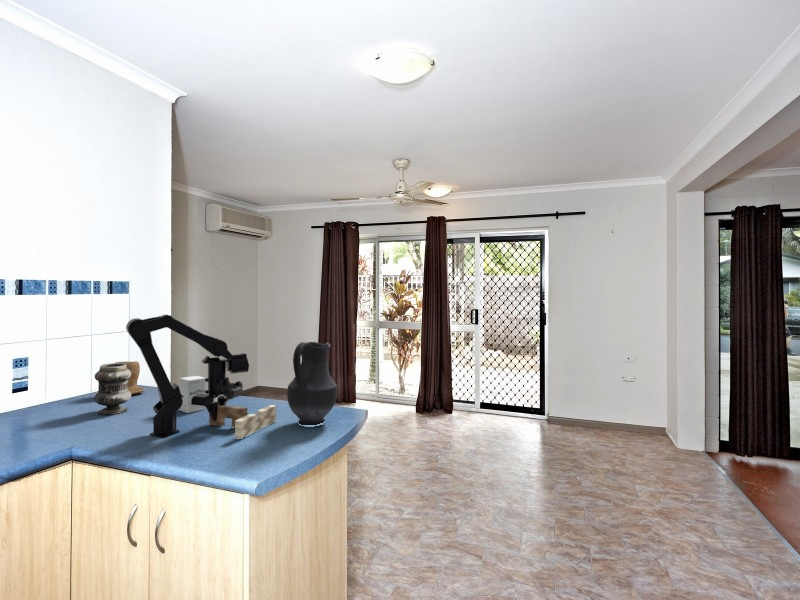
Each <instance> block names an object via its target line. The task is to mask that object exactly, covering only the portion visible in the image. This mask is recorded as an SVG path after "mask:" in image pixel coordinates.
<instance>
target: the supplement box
mask: <svg viewBox="0 0 800 600" xmlns="http://www.w3.org/2000/svg"><path fill="white" fill-rule="evenodd" d="M206 378H207V377H203V376H199V375H191V376H185V377H179V378H178V386H179V389H180V393H181V394H182V395H183V396H184V397H183V398H182V400H183V404H182V406H181V407H180V408H179V409H178V411H181V412H183V413H187V414H189V413H193V412H194V413H195V412H199V411H203V410H207V409H206V407H205V406H199V405H191V398H192V397H193V396H196V395H199V394H206V393H205V390H207V389H206V386H207V383H206V382H205V379H206Z"/></svg>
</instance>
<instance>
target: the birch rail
mask: <svg viewBox="0 0 800 600" xmlns="http://www.w3.org/2000/svg"><path fill="white" fill-rule="evenodd" d="M256 412H257V413H256V414H254V413H250V414H247V416H244V417H242V418H240V419H238V420H235V429H234V439H235V438H243V437H245V436H247V435H249V434H251V433H253V432H255V431H257V430H259V429H261V428H263V427H265V426H267V425H269V424H271V423H273V422H275V421H276V422H277V405H275V404H274V405H273V404H270V405H268V406H265V407H263V408H261V409H258V410H257V411H256Z"/></svg>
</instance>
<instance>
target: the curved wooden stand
mask: <svg viewBox="0 0 800 600" xmlns="http://www.w3.org/2000/svg"><path fill="white" fill-rule="evenodd" d="M114 363H124V364H126V367H127V369H128V370H130V372H131V376H130V378H128V391H130V393H131V396H132V395H135V394H139V393H143V392H145V391H146V389H145V388H144V387H140V386H138V381H139V377H140V373H141V367H140V362H139V361H136V360H134V361H129V360H128V361H116V362H114Z"/></svg>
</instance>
